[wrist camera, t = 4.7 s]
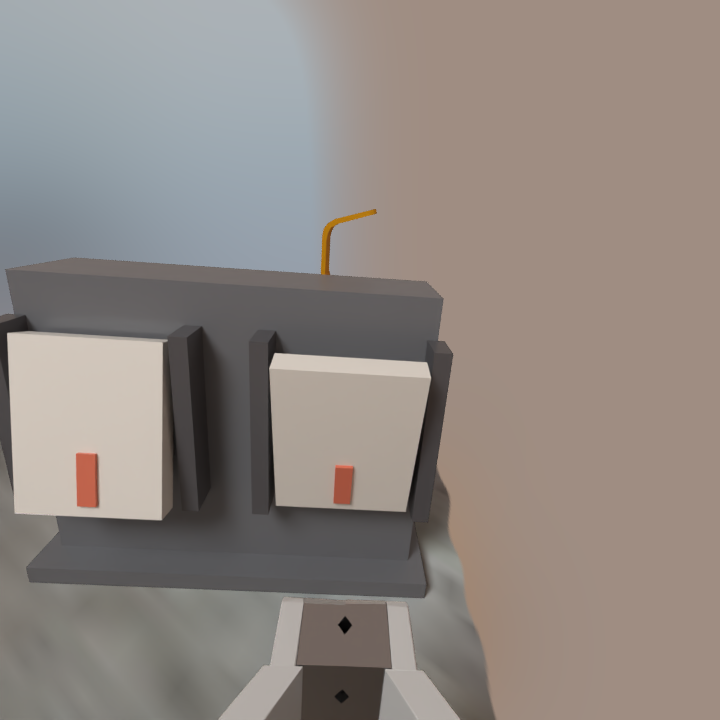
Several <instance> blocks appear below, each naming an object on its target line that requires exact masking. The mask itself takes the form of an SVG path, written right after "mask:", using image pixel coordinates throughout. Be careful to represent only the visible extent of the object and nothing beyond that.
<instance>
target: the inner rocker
mask: <svg viewBox="0 0 720 720" xmlns="http://www.w3.org/2000/svg"><path fill="white" fill-rule="evenodd" d="M7 341H8V365H9V389H10V413H11V436H12V460H13V484H14V508H15V514H34V515H56V516H78V517H99V518H121V519H143V520H162V519H163V518H164V517H165V516H166V515H167V514H168V513H169V511H170V510H171V509H172V508H173V416H174V410H173V399H172V387H171V375H170V363H169V351H168V340H165V339H149V338H133V337H116V336H100V335H84V334H68V333H51V332H35V331H24V332H12V333H7Z"/></svg>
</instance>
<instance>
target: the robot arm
mask: <svg viewBox="0 0 720 720" xmlns="http://www.w3.org/2000/svg"><path fill="white" fill-rule="evenodd" d="M218 720H460V718H459V717H458V716H457V714H456V713H455V712H454V710H453V709H452V708H451V706H450V705H449V704H448V702H447V701H446V700H445V698H444V697H443V696H442V694H441V693H440V692H439V690H438V689H437V688H436V686H435V685H434V684H433V682H432V681H431V680H430V678H429V677H428V676H427V674H426V673H425V672H424V671H423V670H417V664H416V657H415V650H414V643H413V636H412V629H411V622H410V615H409V608H408V605H407V603H406V602H396V601H386V602H385V601H377V600H331V599H317V598H298V597H284V598H283V600H282V603H281V608H280V614H279V619H278V625H277V630H276V636H275V641H274V647H273V652H272V658H271V663H270V665H263V666H262V668H261V669H260V670H259V671H258V672H257V674H256V675H255V676H254V677H253V678H252V680H251V681H250V682H249V683H248V684H247V686H246V687H245V688H244V689H243V690H242V691H241V693H240V694H239V695H238V696H237V697H236V699H235V700H234V701H233V702H232V703H231V705H230V706H229V707H228V708H227V709H226V711H225V712H224V713H223V714H222V715H221V717H220V718H219V719H218Z"/></svg>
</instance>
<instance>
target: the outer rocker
mask: <svg viewBox="0 0 720 720" xmlns="http://www.w3.org/2000/svg"><path fill="white" fill-rule="evenodd" d="M269 372H270V393H271V413H272V434H273V455H274V476H275V497H276V506H292V507H313V508H334V509H355V510H376V511H397V512H406V507H407V502H408V497H409V492H410V486H411V481H412V476H413V471H414V465H415V460H416V455H417V450H418V444H419V439H420V434H421V429H422V423H423V418H424V413H425V408H426V403H427V397H428V392H429V387H430V382H431V376H430V372H429V368H428V364H427V362H413V361H396V360H380V359H364V358H347V357H331V356H314V355H298V354H282V353H274V356H273V359H272V362H271V365H270V368H269Z"/></svg>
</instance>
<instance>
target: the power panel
mask: <svg viewBox="0 0 720 720" xmlns="http://www.w3.org/2000/svg"><path fill="white" fill-rule="evenodd" d="M5 270H6V275H7V280H8V284H9V290H10V295H11V300H12V304H13V309H14V314H5V315H2V316H0V440H1V444H2V449H3V453H4V457H5V461H6V465H7V469H8V474H9V478H10V482H11V486H12V490H13V494H14V484H13V460H12V436H11V413H10V389H9V365H8V341H7V333H12V332H24V331H35V332H51V333H68V334H84V335H100V336H116V337H133V338H149V339H165V340H168V351H169V363H170V375H171V387H172V399H173V410H174V416H173V508H172V509H171V510H170V511H169V513H168V514H167V515H166V516H165V517H164V518H163V519H162V520H143V519H121V518H99V517H78V516H56V518H57V523H58V528H59V532H58V533H57V534H56V535H55V537H54V538H53V539H52V540H51V541H50V542H49V543H48V544H47V545H46V546H45V547H44V549H43V550H42V551H41V552H40V553H39V554H38V555H37V556H36V557H35V558H34V559H33V561H32V562H31V563H30V564H29V565H28V566H27V567H26V570H27V574H28V578H29V582H42V583H67V584H92V585H116V586H141V587H166V588H190V589H215V590H240V591H264V592H289V593H314V594H338V595H363V596H388V597H412V598H424V596H425V590H426V580H425V575H424V570H423V564H422V559H421V554H420V549H419V544H418V539H417V534H416V528H415V523H414V522H428V519H429V512H430V505H431V499H432V492H433V485H434V479H435V472H436V465H437V459H438V451H439V445H440V439H441V432H442V425H443V419H444V412H445V406H446V399H447V392H448V385H449V378H450V372H451V365H452V359H453V353H452V351H451V350H450V349H449V347H448V346H447V344H446V343H445V342H444V341H438V335H439V328H440V321H441V312H442V306H443V298H442V297H441V296H440V295H439V294H438V293H437V292H436V291H435V290H434V289H433V288H432V287H431V286H430V285H429V284H428V283H427V282H425V281H410V280H396V279H381V278H366V277H352V276H337V275H322V274H308V273H293V272H278V271H264V270H249V269H234V268H219V267H205V266H190V265H175V264H160V263H145V262H130V261H116V260H115V261H114V260H101V259H87V258H69V259H63V260H57V261H52V262H45V263H39V264H34V265H28V266H22V267H16V268H10V269H5ZM274 353H282V354H298V355H314V356H331V357H347V358H364V359H380V360H396V361H413V362H427V364H428V368H429V372H430V376H431V382H430V387H429V392H428V397H427V403H426V408H425V413H424V418H423V423H422V429H421V434H420V439H419V444H418V450H417V455H416V460H415V465H414V471H413V476H412V481H411V486H410V492H409V497H408V502H407V507H406V512H397V511H376V510H355V509H334V508H313V507H292V506H276V497H275V476H274V455H273V434H272V413H271V393H270V372H269V368H270V365H271V362H272V359H273V356H274Z"/></svg>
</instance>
